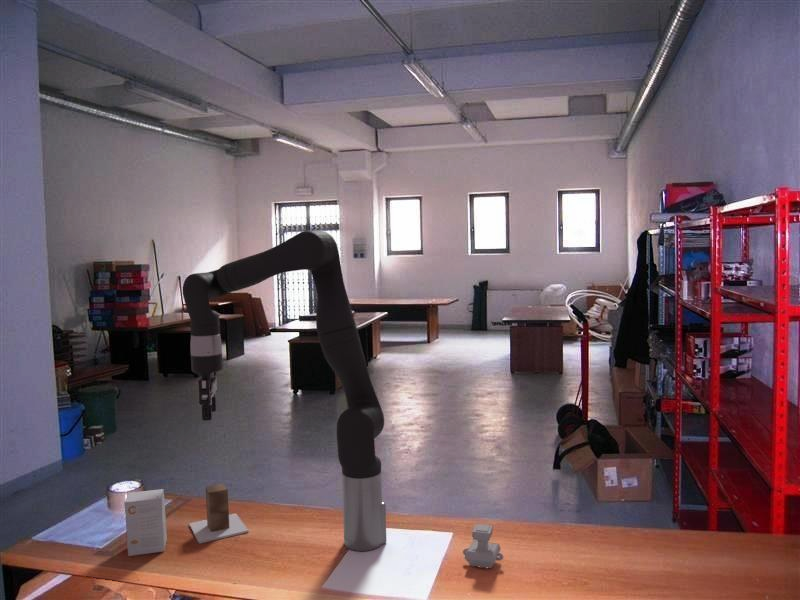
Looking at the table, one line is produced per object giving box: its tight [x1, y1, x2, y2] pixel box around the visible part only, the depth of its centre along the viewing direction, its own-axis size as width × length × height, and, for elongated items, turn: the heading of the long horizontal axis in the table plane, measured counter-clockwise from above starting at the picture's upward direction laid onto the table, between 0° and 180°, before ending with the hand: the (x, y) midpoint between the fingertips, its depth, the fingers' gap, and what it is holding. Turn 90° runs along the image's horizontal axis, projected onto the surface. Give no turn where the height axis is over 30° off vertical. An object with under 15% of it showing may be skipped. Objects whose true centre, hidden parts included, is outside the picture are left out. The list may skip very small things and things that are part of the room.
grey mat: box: [188, 512, 249, 545], centre depth 165 cm, size 12×12×1 cm
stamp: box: [462, 523, 504, 569], centre depth 144 cm, size 9×7×8 cm
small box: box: [124, 488, 168, 557], centre depth 155 cm, size 8×6×13 cm
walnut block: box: [205, 483, 230, 532], centre depth 165 cm, size 4×4×10 cm
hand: (209, 415), depth 166 cm, fingers open, 8 cm apart
